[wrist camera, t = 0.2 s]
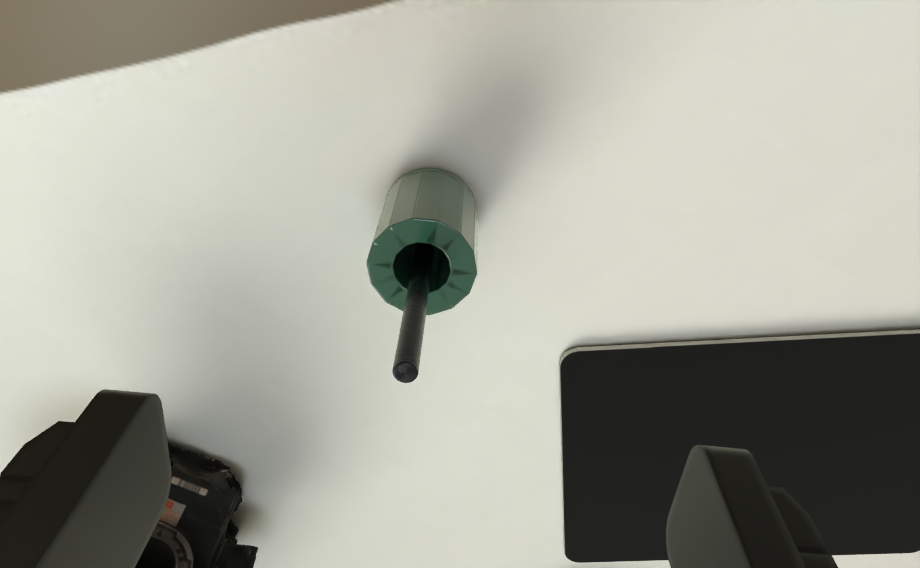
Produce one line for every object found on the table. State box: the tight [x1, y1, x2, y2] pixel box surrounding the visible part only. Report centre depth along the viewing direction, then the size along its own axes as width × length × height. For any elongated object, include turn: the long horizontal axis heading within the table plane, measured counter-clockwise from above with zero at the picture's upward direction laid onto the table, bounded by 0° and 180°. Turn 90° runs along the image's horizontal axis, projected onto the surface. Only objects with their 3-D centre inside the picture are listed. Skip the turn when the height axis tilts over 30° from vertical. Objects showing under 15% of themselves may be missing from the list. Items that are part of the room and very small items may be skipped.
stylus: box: [393, 242, 435, 383], centre depth 34 cm, size 1×1×15 cm
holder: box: [367, 168, 478, 315], centre depth 38 cm, size 5×6×7 cm
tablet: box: [560, 329, 920, 562], centre depth 49 cm, size 27×1×20 cm
